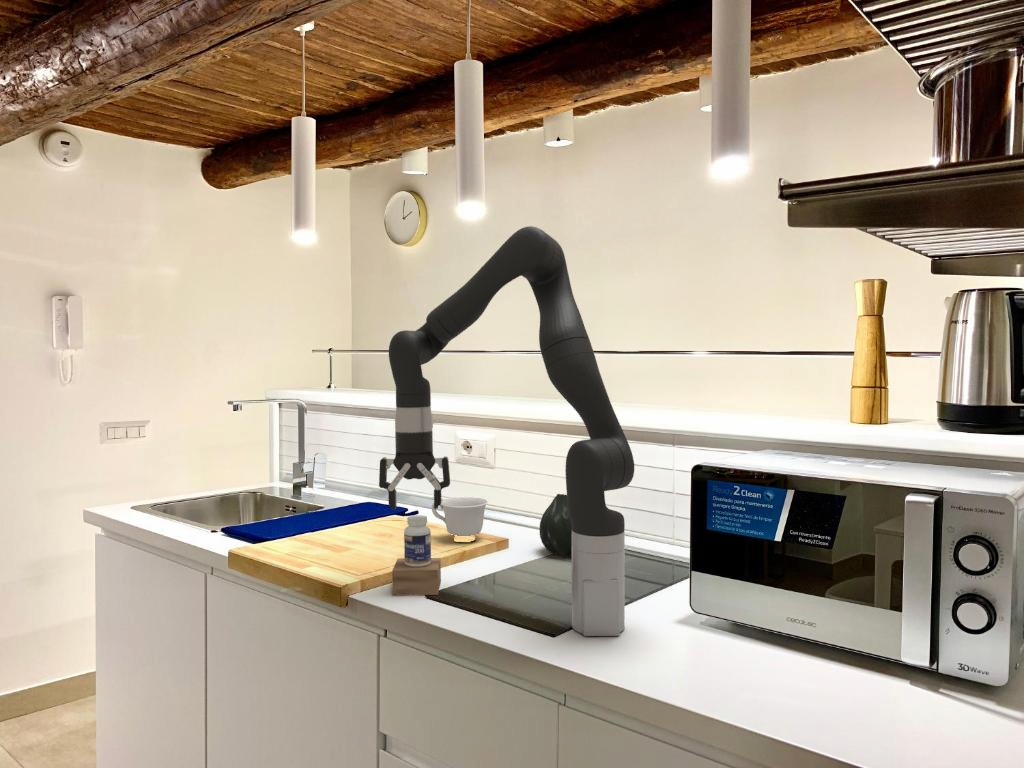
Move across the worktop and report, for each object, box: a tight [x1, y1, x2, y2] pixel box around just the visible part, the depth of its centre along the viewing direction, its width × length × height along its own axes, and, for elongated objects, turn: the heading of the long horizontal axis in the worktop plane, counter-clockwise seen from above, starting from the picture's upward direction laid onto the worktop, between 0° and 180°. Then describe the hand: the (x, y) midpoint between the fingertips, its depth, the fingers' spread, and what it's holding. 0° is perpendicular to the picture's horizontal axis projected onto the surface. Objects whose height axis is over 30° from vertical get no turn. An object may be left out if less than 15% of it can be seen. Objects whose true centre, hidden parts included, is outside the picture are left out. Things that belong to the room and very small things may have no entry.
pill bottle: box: [403, 514, 432, 567], centre depth 160 cm, size 5×5×10 cm
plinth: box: [391, 557, 442, 596], centre depth 161 cm, size 9×9×5 cm
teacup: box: [431, 496, 489, 536], centre depth 200 cm, size 12×15×10 cm
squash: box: [539, 493, 572, 558], centre depth 188 cm, size 14×15×15 cm
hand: (415, 508), depth 160 cm, fingers open, 8 cm apart
